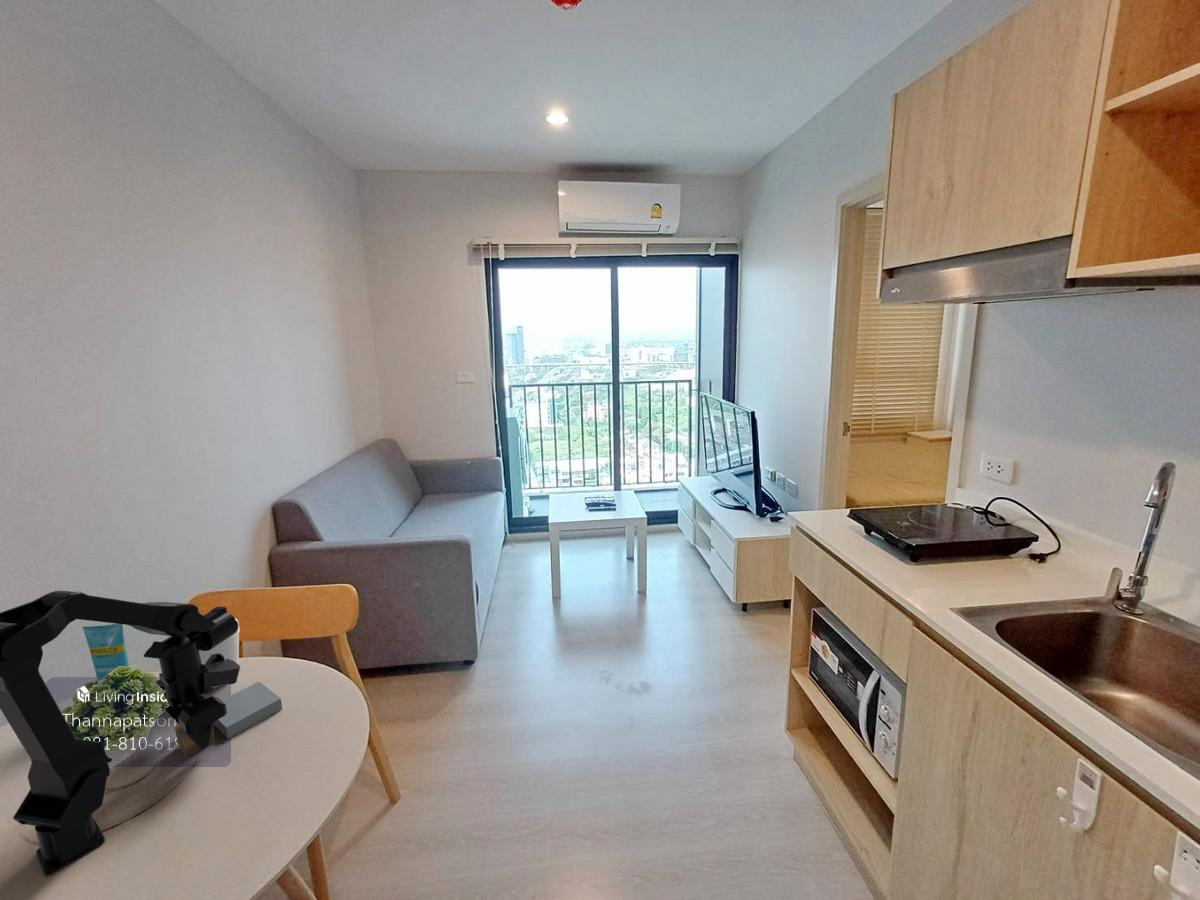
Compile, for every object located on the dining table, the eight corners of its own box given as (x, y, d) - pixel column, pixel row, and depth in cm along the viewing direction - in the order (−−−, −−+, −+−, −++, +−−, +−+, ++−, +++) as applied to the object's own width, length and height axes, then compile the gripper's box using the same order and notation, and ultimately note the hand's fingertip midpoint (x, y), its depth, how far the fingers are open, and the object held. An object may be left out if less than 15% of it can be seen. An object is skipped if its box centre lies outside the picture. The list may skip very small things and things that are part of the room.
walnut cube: (215, 741, 99) (211, 722, 98) (187, 757, 95) (183, 736, 94) (206, 732, 101) (202, 712, 100) (178, 746, 98) (174, 726, 97)
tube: (91, 715, 106) (72, 632, 102) (108, 699, 111) (90, 620, 107) (133, 709, 108) (115, 628, 104) (147, 694, 112) (131, 616, 108)
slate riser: (282, 708, 108) (280, 698, 107) (228, 738, 100) (226, 727, 99) (260, 691, 113) (259, 681, 113) (207, 718, 105) (205, 707, 105)
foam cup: (249, 678, 118) (241, 628, 115) (200, 697, 111) (190, 645, 108) (241, 660, 124) (233, 612, 121) (194, 678, 118) (184, 627, 115)
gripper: (251, 660, 96) (263, 731, 99) (212, 630, 106) (223, 695, 110) (179, 693, 87) (194, 770, 90) (143, 657, 97) (158, 727, 101)
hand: (195, 737), depth 98 cm, fingers open, 9 cm apart
